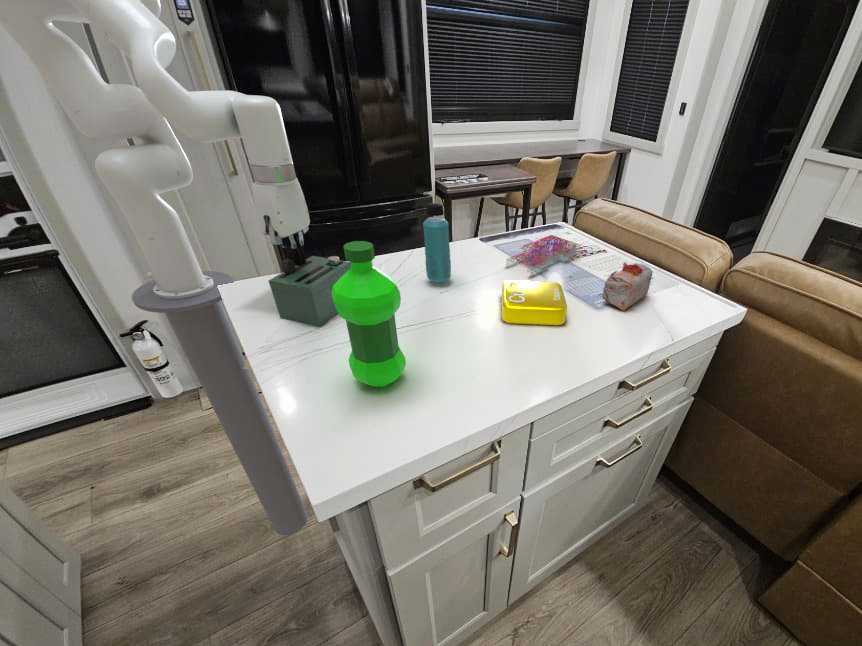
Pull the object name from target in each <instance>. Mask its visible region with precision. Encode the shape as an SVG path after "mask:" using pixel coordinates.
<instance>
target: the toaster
mask: <svg viewBox="0 0 862 646" xmlns="http://www.w3.org/2000/svg"><path fill="white" fill-rule="evenodd" d="M305 259H306V264H305V265H303V266H296V265H295V267H296V271H294V272H293V273H291V274H289V273H284V271H283V272H281V273H279V274H277V275H276V276H274V277H272V278H270V279H268V285H269V287H270V290H271V294H272V296H273V299H274V303H275V307H276V309H277V312H278V315H279V319H281V320H286V321H290V322H291V321H292V322H295V323H301V324H305V325H312V326H316V327H322V326H323V325H324V324H326V323H327V322H328V321H329V320H331V319H332V318H334V317H335V316H336V315H338V314H339V313H338V311H337V309H336V307H335V304H334V302H333V298H332V294H331V293H332V288H333V285H334V284H335V283H336V282H337V281H338V280H339V279H340V278H341V277H342V276H343V275H344V274H345V273H346V272H347V271H348V270H349V269H350V268H351V265H350V262H349V261H347V260H346V261H345V260H340V259H339V260H340V265H339V266H337V267H335V266H329V262H328V257H322V256H316V255H311V256H309V257H308V258H305Z"/></svg>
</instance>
